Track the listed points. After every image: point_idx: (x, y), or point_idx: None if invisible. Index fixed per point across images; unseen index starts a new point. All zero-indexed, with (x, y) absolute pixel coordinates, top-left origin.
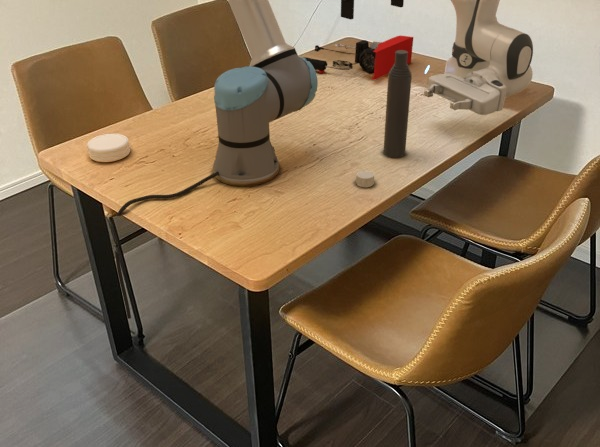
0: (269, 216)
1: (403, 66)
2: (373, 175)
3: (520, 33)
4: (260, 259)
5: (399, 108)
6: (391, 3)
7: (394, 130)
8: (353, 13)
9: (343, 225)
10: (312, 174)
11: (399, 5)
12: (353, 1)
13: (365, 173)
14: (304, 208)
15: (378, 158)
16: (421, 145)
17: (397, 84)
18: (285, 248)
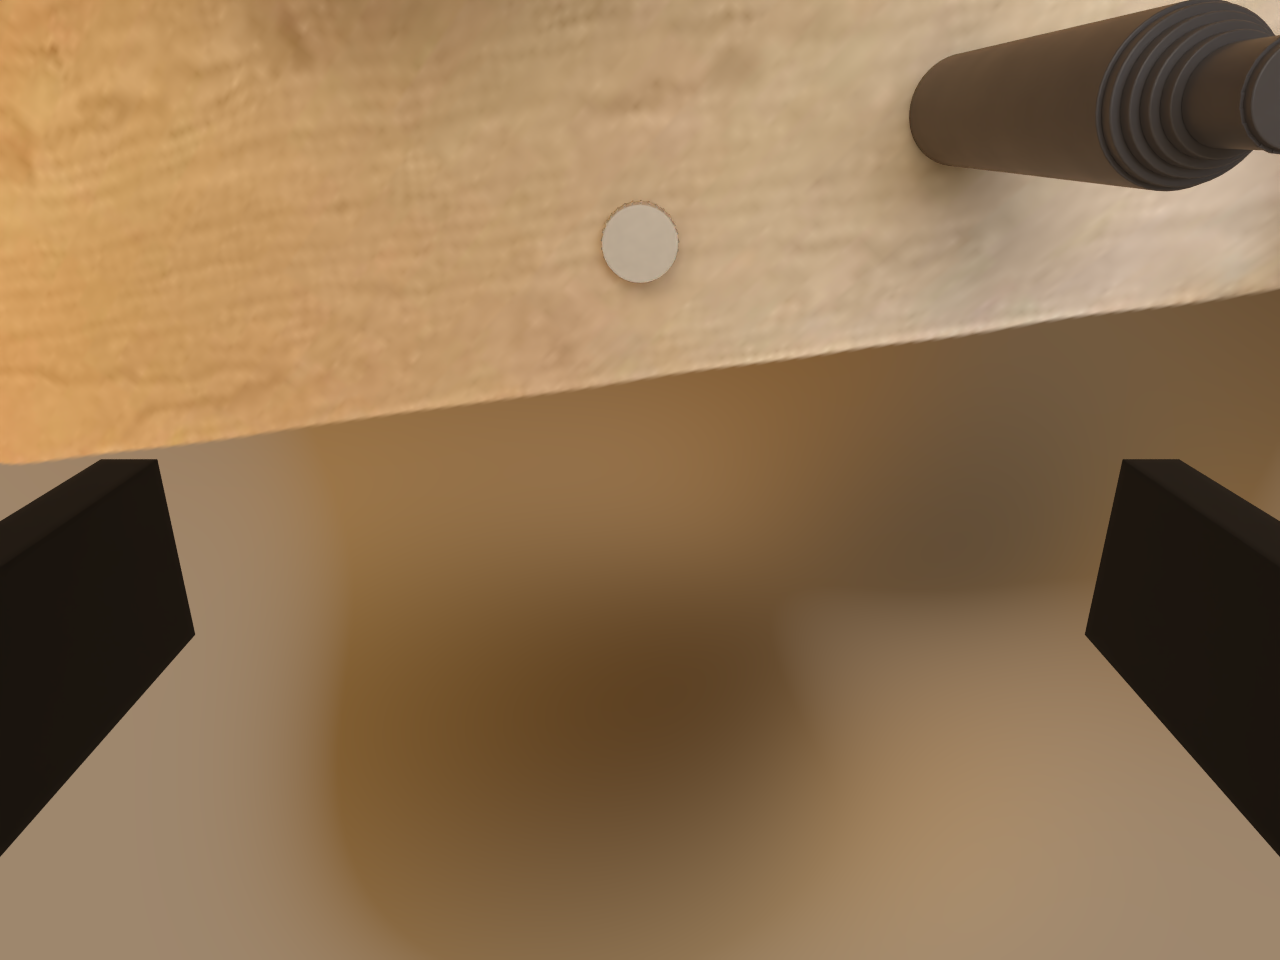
0: (165, 183)
1: (1206, 144)
2: (659, 274)
3: None
4: (19, 388)
5: (1022, 163)
6: (1133, 482)
7: (962, 144)
8: (154, 676)
9: (368, 412)
10: (515, 6)
11: (1100, 625)
12: (47, 787)
13: (646, 238)
14: (315, 228)
15: (863, 100)
16: None
17: (1081, 147)
18: (122, 391)
